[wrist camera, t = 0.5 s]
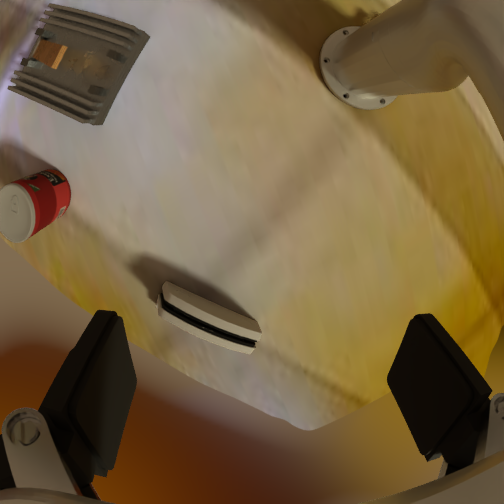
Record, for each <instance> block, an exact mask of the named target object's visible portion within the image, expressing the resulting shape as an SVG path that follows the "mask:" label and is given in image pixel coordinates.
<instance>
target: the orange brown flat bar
mask: <svg viewBox="0 0 504 504" xmlns="http://www.w3.org/2000/svg"><path fill="white" fill-rule="evenodd" d="M66 49H67V47H66V46H63V45H60V44H56V43H53V42H49V41H45V40H41V41H40V43H39V45H38V47H37V49H36V51H35V53H34V55H33V58H35V59H37V60H39V61H40V62H42V63H44V64H46V65H47V66H49V67H51V68H53V69H57V67H58V65H59V63H60V61H61V59H62V57H63V55H64V53H65V51H66Z"/></svg>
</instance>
